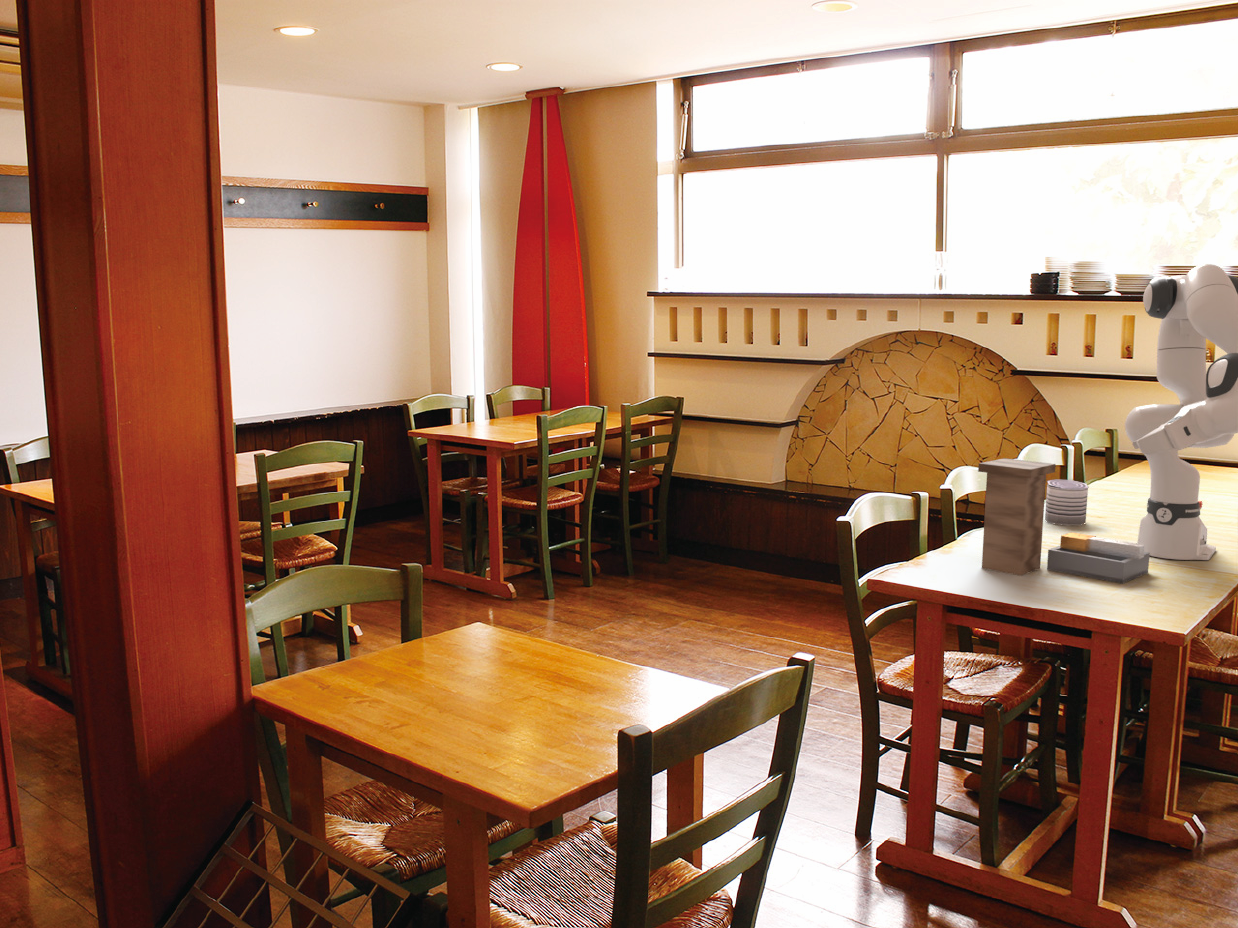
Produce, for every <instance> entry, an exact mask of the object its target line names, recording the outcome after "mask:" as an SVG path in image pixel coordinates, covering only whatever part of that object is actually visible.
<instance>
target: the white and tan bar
mask: <svg viewBox="0 0 1238 928" xmlns="http://www.w3.org/2000/svg"><path fill="white" fill-rule="evenodd" d="M1059 546H1060V548H1065V549H1071V550H1077V551H1083V552H1086V551H1091V552H1097V553H1103V554H1109V555H1115V556H1121V557H1127V558H1134V559H1141V558H1144V550H1145V545H1142V544H1136V543H1134V542H1128V541H1121V540H1116V539H1115V540H1114V539H1110V538H1109V539H1108V538H1102V537H1097V535H1091V534H1084V533H1078V532H1074V531H1073V532H1072V531H1071V532H1068V533H1066V534H1063V535H1061V536H1060V545H1059Z"/></svg>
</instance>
